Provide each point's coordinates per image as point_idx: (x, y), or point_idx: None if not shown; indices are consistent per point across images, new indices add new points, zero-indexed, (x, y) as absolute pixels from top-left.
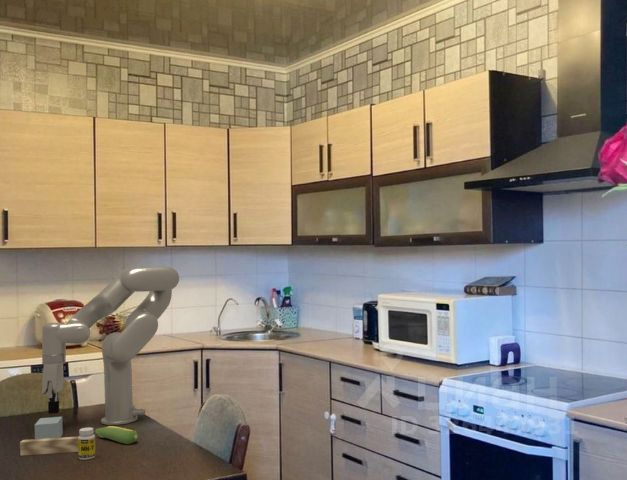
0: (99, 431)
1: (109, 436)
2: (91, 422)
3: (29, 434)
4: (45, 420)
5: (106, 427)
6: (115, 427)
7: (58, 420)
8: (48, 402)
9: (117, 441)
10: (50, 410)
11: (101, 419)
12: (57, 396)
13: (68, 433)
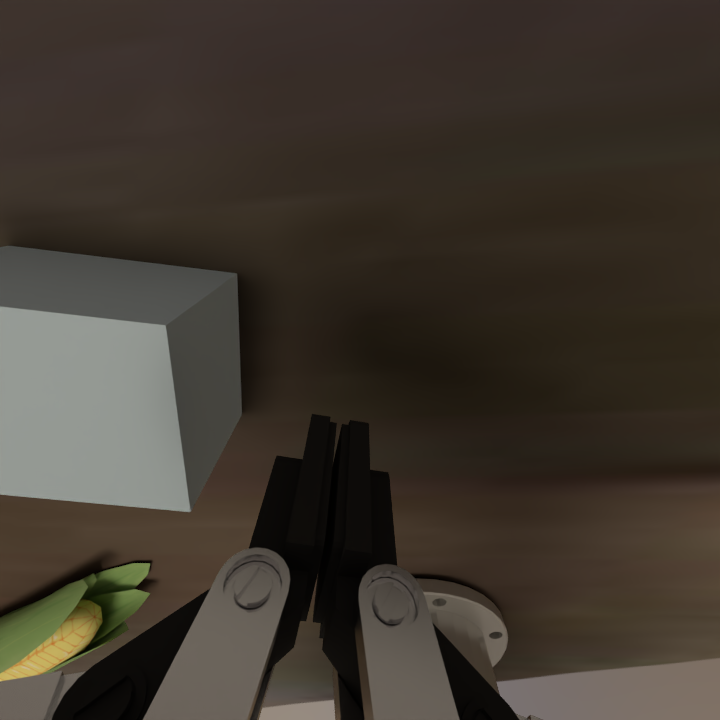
0: (59, 602)
1: (12, 616)
2: (465, 540)
3: (318, 166)
4: (34, 387)
5: (35, 649)
6: (9, 677)
7: (27, 491)
8: (289, 532)
9: (3, 617)
10: (275, 459)
11: (424, 594)
12: (339, 717)
13: (243, 443)
